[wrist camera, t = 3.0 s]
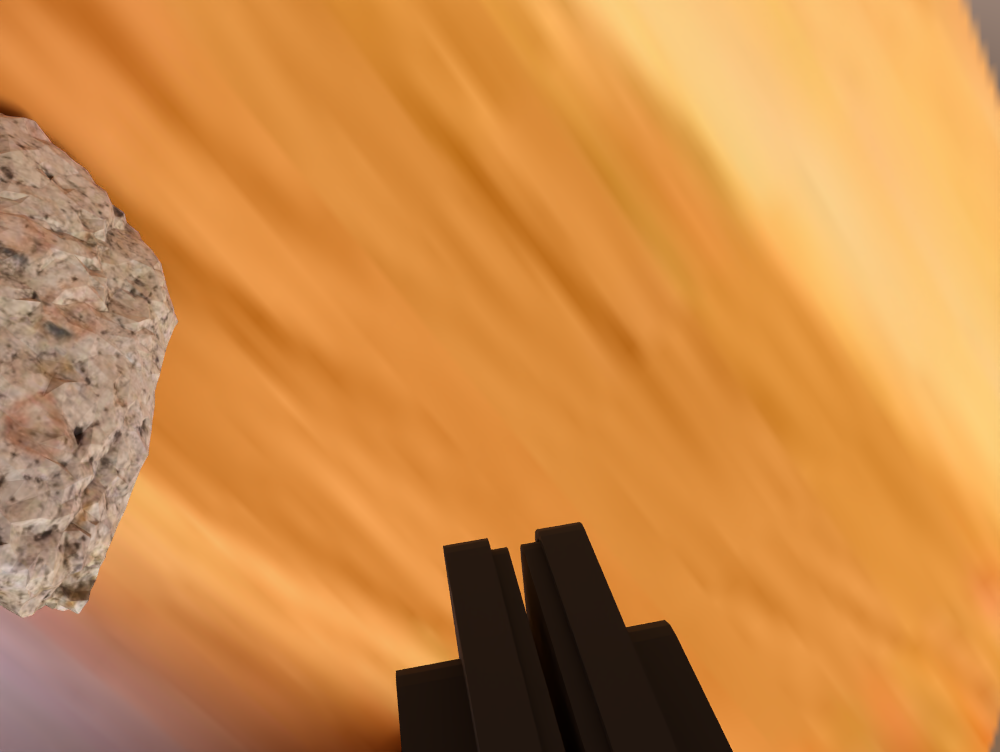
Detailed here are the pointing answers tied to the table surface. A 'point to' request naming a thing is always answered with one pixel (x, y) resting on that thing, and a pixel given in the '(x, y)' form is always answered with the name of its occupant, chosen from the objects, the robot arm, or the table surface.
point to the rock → (69, 370)
